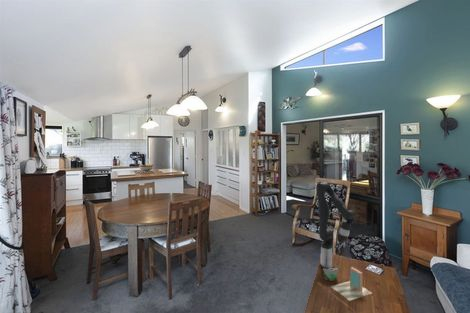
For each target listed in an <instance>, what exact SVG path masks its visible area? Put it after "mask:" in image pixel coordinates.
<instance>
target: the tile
mask: <svg viewBox="0 0 470 313" xmlns="http://www.w3.org/2000/svg"><path fill="white" fill-rule="evenodd" d="M363 273H364V272H363V271H360V270H359V269H357V268H355V267H353V266H351V267H349V281H350V286H352V287H353V288H355V289H356V290H358V291H359V292H361V291H362V287H363Z"/></svg>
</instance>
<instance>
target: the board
mask: <svg viewBox="0 0 470 313" xmlns="http://www.w3.org/2000/svg"><path fill="white" fill-rule="evenodd" d="M330 288H332V289H333V290H334V291H336V292H337V293H338V294H339V295H341V296H342V297H343V298H345V299H347V300H348V301H349V302H350V301H353V300H356V299H359V298H364V297H365V296H368V295H371V294H373V292H372V291H370V290H368V289H367V288H366V287H364V286H362V291H361V292H359V291H358V290H356V289H355V288H353V287H352V286H350V280H349V281H345V282H341V283H338V284H335V285H331V286H330Z"/></svg>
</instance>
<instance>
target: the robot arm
mask: <svg viewBox="0 0 470 313" xmlns="http://www.w3.org/2000/svg"><path fill="white" fill-rule="evenodd" d="M315 189H316V190H315V191H316V196H317V205H318V217H319V219H318V221H319V222H318V224H319V226H318V234H319V238H320V240H322V242H321V244H320V256H319V257H320V262H319V263H320V265H321V266H322V268H325V269H327V268H333V245H334V232H333V230H332V229H331V228H327V227H328V221H329V219H330V214H331V213H330V212H331V211H330V205H329V204H328V203H327V200H326V198H325V197H326V195H325V194H327V195H329V198H330V200H331V202H332V204H333V205H334V207H335V208H336V210H338V211H339V214H340V215H341V216H342V217H343V219H344V220H342V221H341V225H340V228H339V230H338V235H337V238H338V240H336V243H335V245H334V248H335V251H334V252H335V254H339V251H341V252H343V251H344V248H345V247H346V245H347V242H348V241H349V240H348V239H349V236H350V231H351V227H352V225H353V223H354V222H355V219H356V212H355V211H354V210H348V208H347V205H346V203H344V202H343V200H341V199H340V197H339V196H338V195H337V194H336V192H335V191H334V190H333V187H332V186H331V185H330V184H329V183H328V182H327V181H326V182H325V181H324V182H317V184H316V187H315Z"/></svg>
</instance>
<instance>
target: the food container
mask: <svg viewBox="0 0 470 313" xmlns="http://www.w3.org/2000/svg"><path fill="white" fill-rule="evenodd" d="M322 271H323V275H324V279H325V280H326V281H330V282H335V281H337V277H338V276H337V275H338V272H339V269H338V267H337V265H335V267H331V268H325V267H323V269H322Z"/></svg>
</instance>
